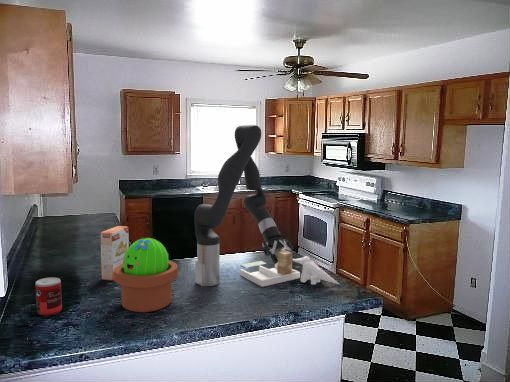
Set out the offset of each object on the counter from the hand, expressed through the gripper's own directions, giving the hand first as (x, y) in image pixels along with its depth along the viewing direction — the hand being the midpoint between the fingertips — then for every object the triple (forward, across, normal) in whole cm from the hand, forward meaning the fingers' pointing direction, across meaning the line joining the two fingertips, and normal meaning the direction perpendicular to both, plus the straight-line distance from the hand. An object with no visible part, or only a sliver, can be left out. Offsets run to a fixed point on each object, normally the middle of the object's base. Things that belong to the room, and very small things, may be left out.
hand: (284, 261), depth 179 cm
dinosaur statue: (+14, +6, -3) cm, 16 cm away
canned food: (-7, -90, +18) cm, 92 cm away
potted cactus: (+1, -59, +10) cm, 60 cm away
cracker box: (-25, -60, +36) cm, 75 cm away
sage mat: (-9, 0, +20) cm, 22 cm away
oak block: (+5, 0, +5) cm, 7 cm away
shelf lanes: (+3, -5, +8) cm, 10 cm away
